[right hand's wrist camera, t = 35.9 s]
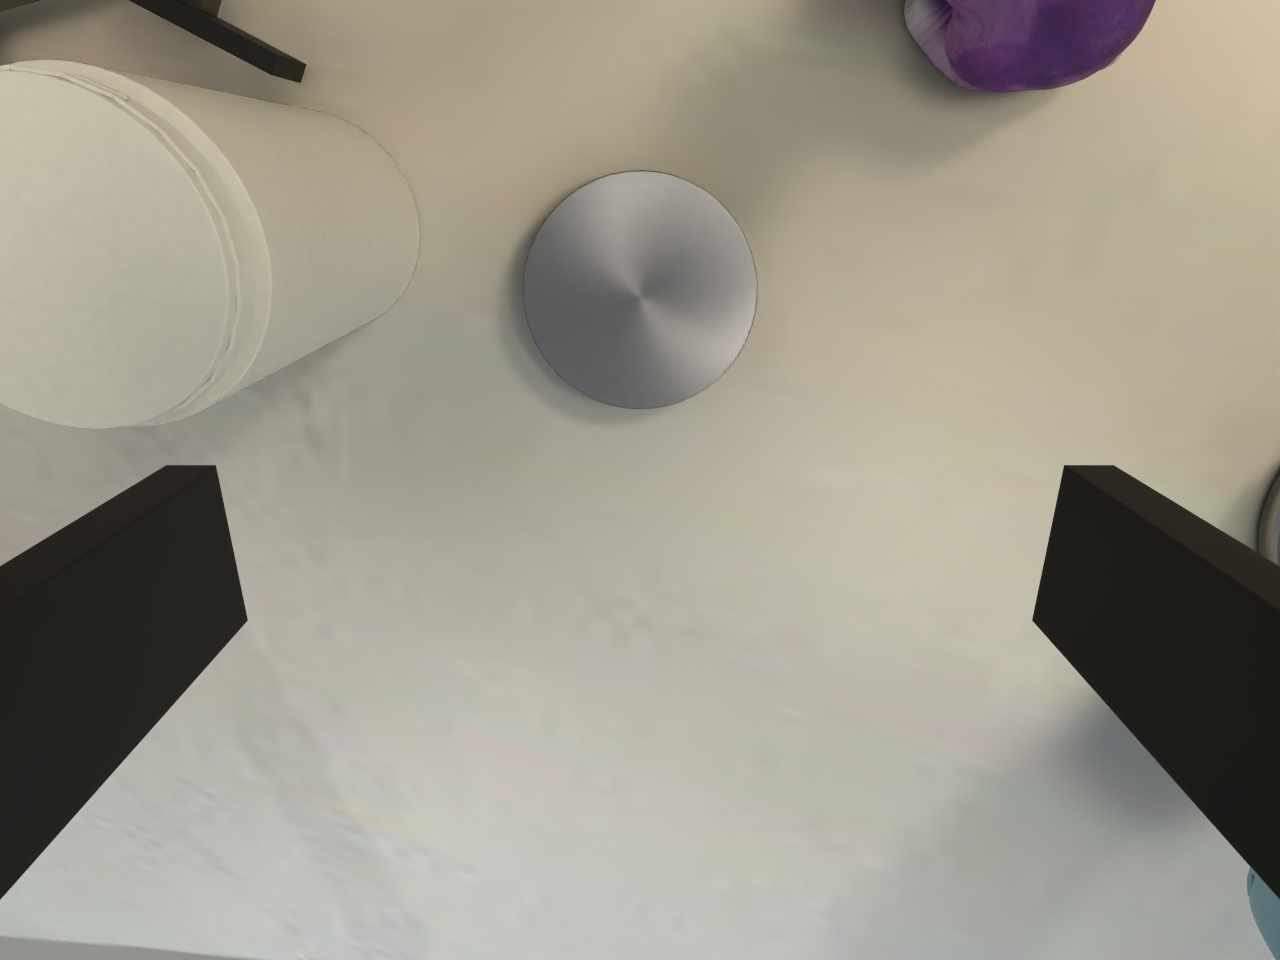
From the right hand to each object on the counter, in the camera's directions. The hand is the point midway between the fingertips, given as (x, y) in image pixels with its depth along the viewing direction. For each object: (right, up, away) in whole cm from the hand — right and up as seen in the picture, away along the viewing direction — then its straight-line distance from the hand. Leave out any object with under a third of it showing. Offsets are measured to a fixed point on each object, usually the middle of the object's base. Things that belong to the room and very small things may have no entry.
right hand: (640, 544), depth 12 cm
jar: (-16, +14, +26) cm, 34 cm away
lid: (0, +10, +26) cm, 28 cm away
